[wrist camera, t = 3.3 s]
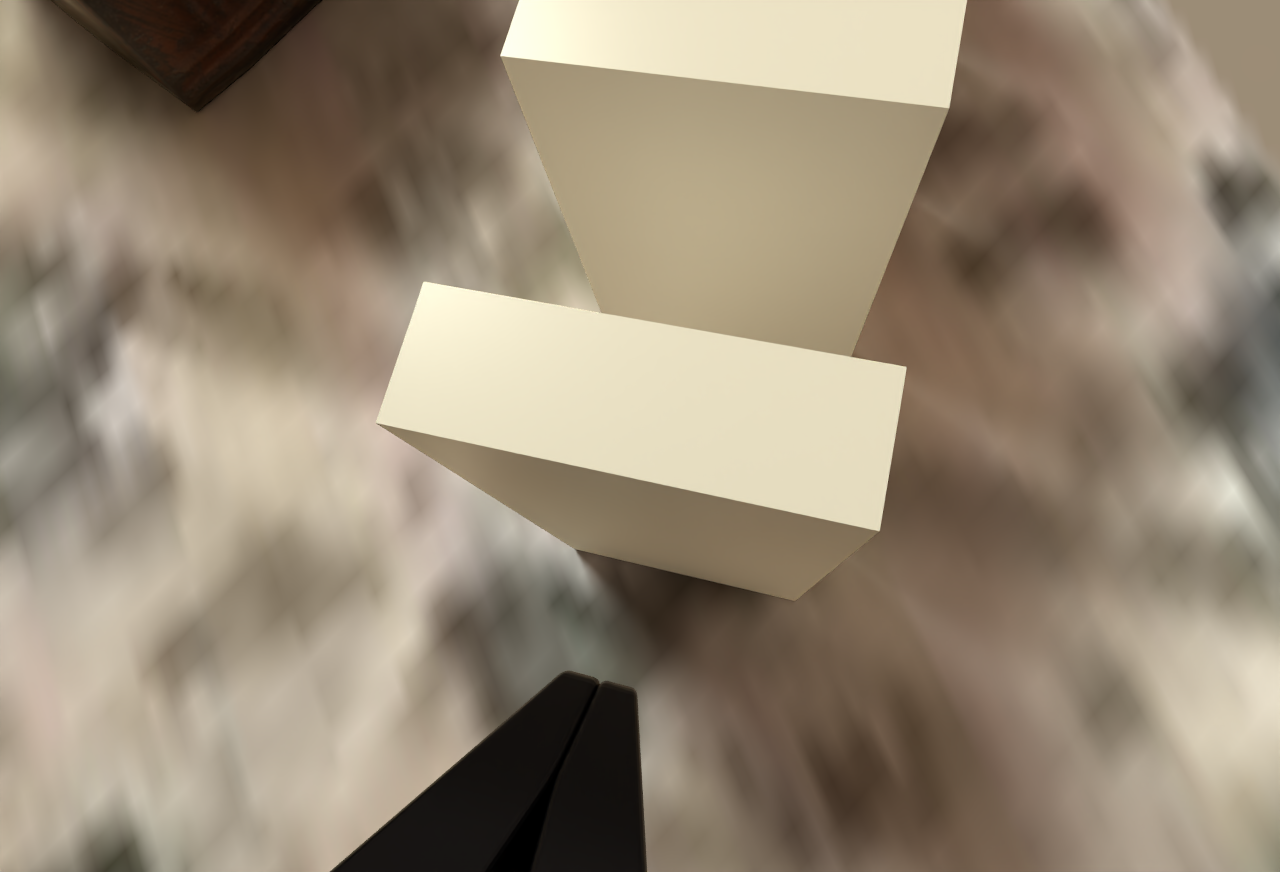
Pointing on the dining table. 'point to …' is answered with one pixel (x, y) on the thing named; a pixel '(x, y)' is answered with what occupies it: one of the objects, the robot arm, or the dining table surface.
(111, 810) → the dining table surface
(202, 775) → the dining table surface
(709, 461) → the domino
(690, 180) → the domino
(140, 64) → the dark brown boxy piece
